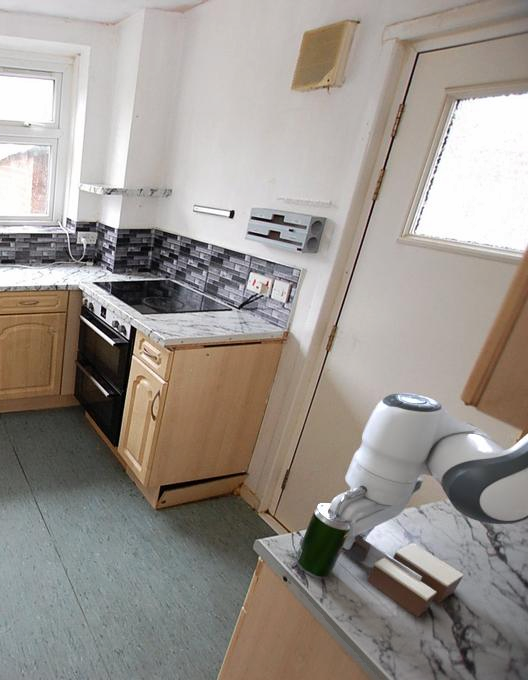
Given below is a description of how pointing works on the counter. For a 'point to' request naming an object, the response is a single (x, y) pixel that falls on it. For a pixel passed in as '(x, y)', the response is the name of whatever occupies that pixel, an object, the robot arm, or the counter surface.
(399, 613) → the counter surface
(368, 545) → the knife
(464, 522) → the counter surface
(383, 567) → the cake slice
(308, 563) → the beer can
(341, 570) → the counter surface
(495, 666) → the counter surface
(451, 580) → the cake
